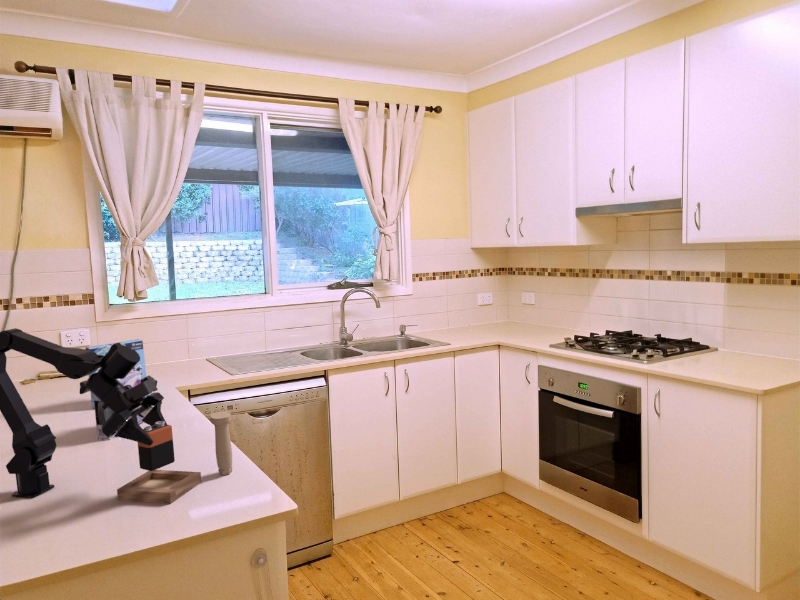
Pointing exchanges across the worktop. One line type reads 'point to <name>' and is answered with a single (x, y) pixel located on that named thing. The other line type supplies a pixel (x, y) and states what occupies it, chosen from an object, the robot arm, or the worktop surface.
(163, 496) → the brown wooden flat tray
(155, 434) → the battery
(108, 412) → the cake pan box
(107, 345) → the light blue flat box
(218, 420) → the handle
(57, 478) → the worktop surface
